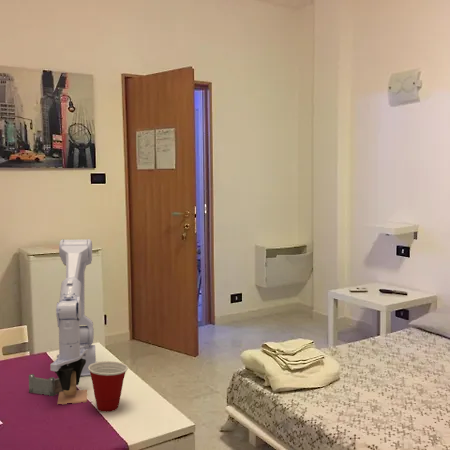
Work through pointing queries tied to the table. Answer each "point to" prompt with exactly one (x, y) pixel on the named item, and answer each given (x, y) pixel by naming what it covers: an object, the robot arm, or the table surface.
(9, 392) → the table surface
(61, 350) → the robot arm
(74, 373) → the oak dowel
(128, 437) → the table surface
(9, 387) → the table surface
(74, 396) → the coaster
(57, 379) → the bent rail
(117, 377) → the plastic cup
